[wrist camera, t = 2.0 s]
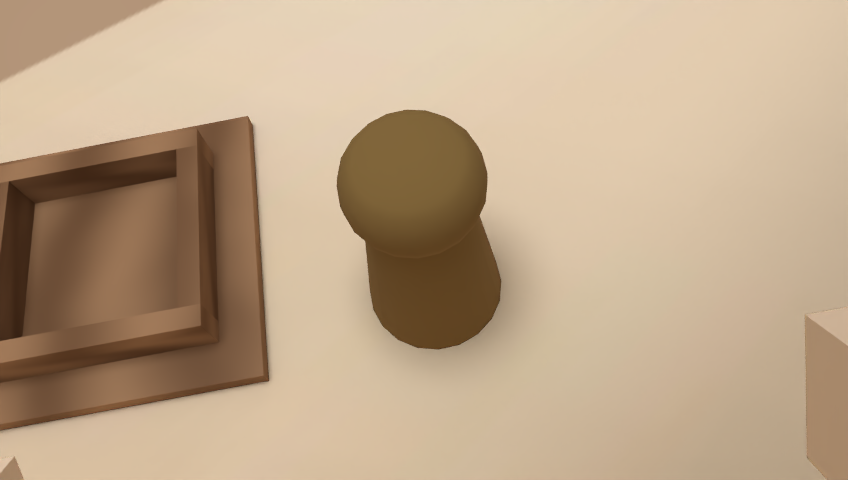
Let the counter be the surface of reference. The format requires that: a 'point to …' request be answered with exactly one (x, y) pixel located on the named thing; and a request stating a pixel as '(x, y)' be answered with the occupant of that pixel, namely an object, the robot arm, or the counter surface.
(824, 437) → the robot arm
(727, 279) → the counter surface
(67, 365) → the walnut holder
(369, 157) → the cork
